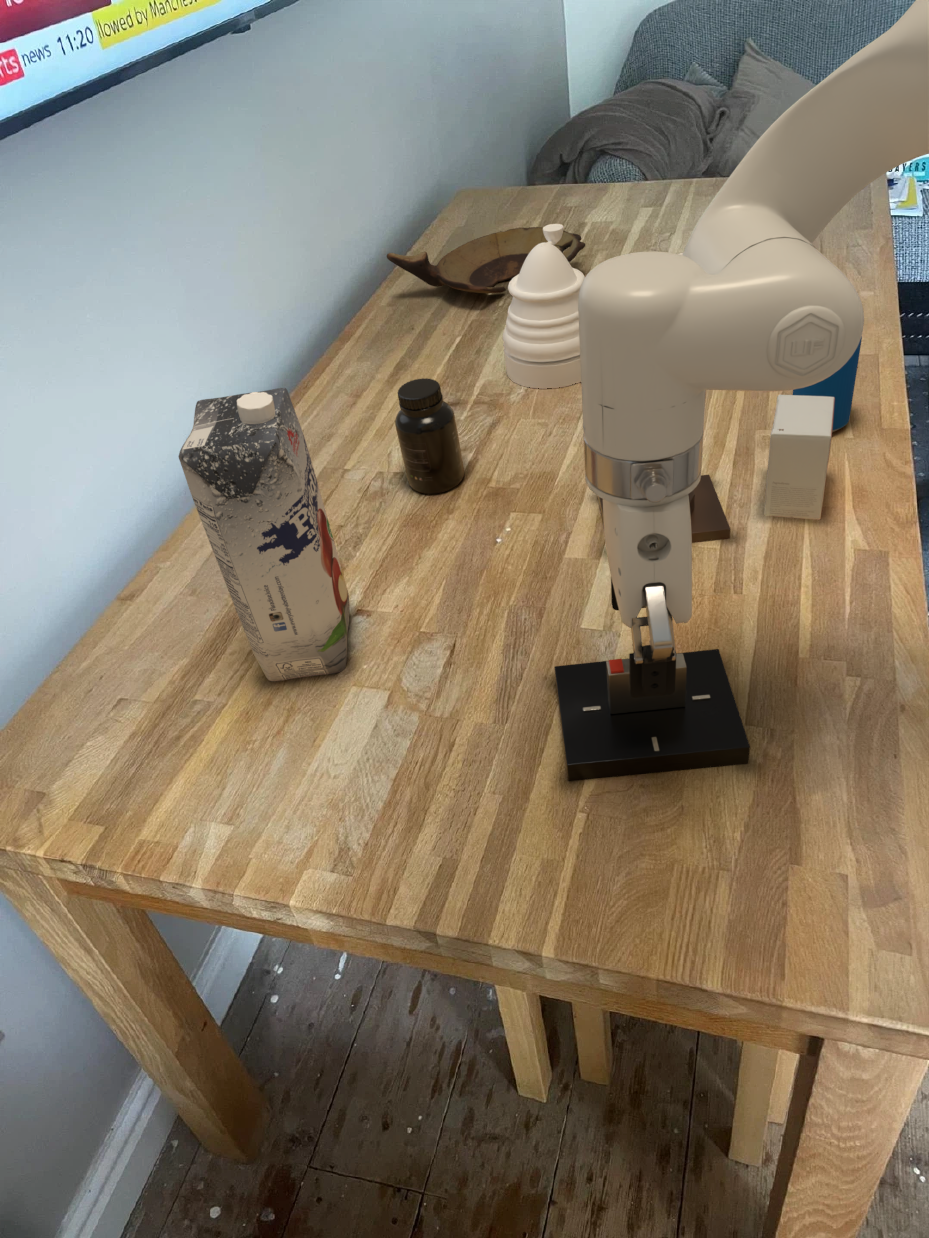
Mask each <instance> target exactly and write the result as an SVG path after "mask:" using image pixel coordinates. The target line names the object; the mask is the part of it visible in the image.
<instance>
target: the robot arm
mask: <svg viewBox="0 0 929 1238" xmlns="http://www.w3.org/2000/svg"><path fill="white" fill-rule="evenodd" d="M926 155H929V0H914V1H913V2H912V4H911V5H910V7H909V8H908V9H907V10H906V11H905V12H904V13H903V14H902V15H901V17H900V18H899V19H898V20H897V21H896V22H895V23H894V24H893V25H892V26H890V28H889V29H887V30H886V31H885V32H883V33H882V34H881V35H879V36H878V37H876V38H875V39H874V40H872V41H871V42H870V43H868V44H866V45H865V46H864V47H862V48H861V49H860V50H859V51H857V52H856V53H854V54H853V55H852V56H850V57H849V58H848V59H847V60H846V61H845V62H843V63H842V64H841V65H840V66H838V67H837V68H836V69H834V70H833V71H832V72H831V73H830V74H829V75H827V77H825V78H824V79H822V80H821V81H820V82H819V83H817V84H816V85H815V86H814V87H812V88H811V89H810V90H809V91H807V92H806V93H805V94H804V95H803V96H801V97H800V98H799V99H798V100H796V101H795V102H794V103H793V104H791V106H790V107H788V108H787V109H786V110H785V111H783V113H782V114H780V116H779V117H778V118H776V120H775V121H774V122H772V124H770V126H769V127H768V128H767V129H766V130H765V131H764V132H763V134H762V135H760V137H759V138H758V139H757V140H756V141H755V143H754V144H753V145H752V146H751V147H750V149H749V150H748V151H747V153H746V154H745V155H744V157H742V159H741V160H740V162H739V163H738V164H737V166H736V167H735V169H734V170H733V171H732V172H731V174H730V175H729V176H728V178H727V179H726V180H725V182H724V183H723V184H722V186H721V187H720V189H719V190H718V192H717V193H716V194H715V195H714V197H713V198H712V200H711V201H710V203H708V205H707V206H706V208H705V210H704V211H703V213H702V214H701V216H700V217H699V219H698V220H697V222H696V224H695V226H694V227H693V229H692V231H691V233H690V234H689V238H688V240H687V242H686V244H685V246H684V249H683V252H682V253H683V255H679V253H674V252H669V251H668V252H667V251H653V250H651V251H637V252H631V253H625V254H621V255H620V254H619V255H617V256H613V257H611V258H607V259H606V260H603V261H601V262H599V264H596V266H594V267H593V268H592V269H591V270H589V271H588V272H587V274H586V276H585V278H584V280H583V282H582V285H581V288H580V291H579V297H578V317H579V340H580V364H581V382H580V384H581V409H582V411H581V412H582V429H583V432H582V433H583V434H582V435H583V436H582V438H583V460H584V478H585V483H586V485H587V487H588V488H589V490H590V491H591V492H592V493H593V494H594V495H595V496H597V497H598V496H599V497H600V498H602V499H603V519H604V524H603V532H604V543H605V550H606V551H605V552H606V557H607V562H608V563H607V564H608V567H609V573H610V594H611V595H610V596H611V599H610V600H611V608H612V609H613V610H614V611H618V612H619V616H620V620H621V623H622V624H624V625H625V626H626V627H628V628H630V631H631V640H632V651H633V652H632V653H628V659H629V690H630V694H631V696H632V697H634V698H637V697H648V696H658V695H669V694H672V693H674V692H675V678H676V653H677V651H676V644H675V634H674V623H675V625H676V624H686V623H688V622H690V620H691V619H692V617H693V543H692V532H691V516H690V505H689V496H688V494H689V493H690V492H692V491H693V490H694V489H695V488H696V487H697V485H698V483H699V482H700V479H701V475H702V467H703V449H704V428H705V411H706V409H705V408H706V394H707V393H706V391H739V392H763V393H764V392H765V393H767V392H773V393H774V392H787V391H788V392H789V391H793V390H794V389H799V388H804V387H807V386H811V385H813V384H816V383H818V382H820V381H823V380H824V379H826V378H828V377H830V376H831V375H833V374H834V373H835V372H837V371H838V370H839V369H840V368H841V367H843V366H844V365H845V364H846V363H847V361H848V360H849V359H850V358H851V356H852V355H853V353H854V352H855V350H856V348H857V347H858V344H859V342H860V340H861V336H862V337H863V332H864V325H865V313H864V307H863V302H862V300H861V297H860V294H859V292H858V291H857V289H856V287H855V285H854V284H853V283H852V281H851V280H850V279H849V277H848V276H847V275H846V274H845V273H844V272H843V271H842V270H841V269H840V268H839V267H837V266H836V265H835V263H833V262H832V261H831V260H830V259H829V258H827V256H825V255H824V254H823V253H822V252H821V251H820V250H819V249H818V248H817V247H816V246H815V245H814V244H813V243H814V241H815V240H816V239H817V238H818V237H819V235H820V234H821V233H822V232H823V231H824V230H825V228H826V227H827V226H828V224H829V223H830V222H831V221H832V220H833V219H834V218H835V216H836V215H837V214H838V213H839V212H840V211H841V210H842V209H843V208H844V207H845V206H846V205H847V204H848V203H849V202H850V201H851V200H852V199H853V198H854V197H856V196H857V194H859V193H860V192H861V191H863V190H864V189H865V188H866V187H868V186H869V185H870V184H871V183H872V182H874V181H876V180H878V179H879V178H881V177H882V176H883V175H885V174H886V173H888V172H890V171H892V170H894V169H896V168H898V167H899V166H901V165H903V164H906V163H908V162H910V161H912V160H915V159H918V158H920V157H923V156H926ZM861 341H862V340H861ZM642 609H645V612H646V613H645V614H646V616H641V617H638V616H639V614H640V612H641V610H642ZM673 621H674V622H673ZM641 627H648V632H649V644H645V645H643V640H642V630H641V629H642V628H641Z"/></svg>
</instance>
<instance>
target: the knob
mask: <svg viewBox="0 0 929 1238" xmlns="http://www.w3.org/2000/svg"><path fill="white" fill-rule="evenodd" d="M679 653H680V654H676V678H675V692H674V693H672V694H669V695H658V696H648V697H637V698H634V697H632V696H631V694H630V690H629V658H613V659H608V660H605V661H606V669H607V690H608V703H609V709H610V714H618V713H628V712H638V711H648V710H657V709H667V708H677V707H685V702H686V669H687V667H686V663H685V660H684V656H683V653H684V652H679ZM622 659H623V660H622Z"/></svg>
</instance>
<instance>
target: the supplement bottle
mask: <svg viewBox="0 0 929 1238" xmlns="http://www.w3.org/2000/svg"><path fill="white" fill-rule="evenodd" d="M397 398H398V405H399V409H400V410H399V411H398V412H397V414H396V415H395V420H394V424H395V430H396V435H397V439H398V443H399V447H400V452H401V457H402V461H403V466H404V470H405V475H406V479H407V482H408V484H409V486H410V487H411V488H412V489H413V490H414V491H415V492H418V493H421V494H425V495H436V494H442V493H445V492H448V491H450V490H452V489H454V488H456V487H457V486H458V485H459V484H460V483H461V482H462V480H463V478H464V476H465V466H464V460H463V453H462V448H461V443H460V437H459V432H458V426H457V421H456V420H457V419H456V416H455V415H456V414H455V411H454V409H453V407H452V406H451V405H450V404H449V403H447V402H446V401H445V400H444V396H443V393H442V389H441V384H440V383H439V381H437V380H435V379H433V378H427V377H426V378H423V377H422V378H417V379H413V380H410V381H407V382H405V383H403V384H402V385H401V386H400V387H399V389H398V390H397Z"/></svg>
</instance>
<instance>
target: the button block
mask: <svg viewBox="0 0 929 1238" xmlns="http://www.w3.org/2000/svg"><path fill="white" fill-rule="evenodd" d="M688 496H689V505H690V516H691V532H692V544H695V543H705V542H711V541H721V540H729V539H731V526H730V524H729V522H728V518H727V516H726V514H725V511H724V509H723V506H722V504H721V500H720V499H719V496H718V494H717V491H716V489H715V486H714V483H713V481H712V479H711V475H710V474H701V479H700V482H699V483H698V485H697V487H696V488H695V489H694V490H693V491H692V492H690V493H689V494H688ZM597 501H598V506H599V511H600V514H601V519H602V523H603V525H604V519H603V499H602V498H600V497H599V496H597Z"/></svg>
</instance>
